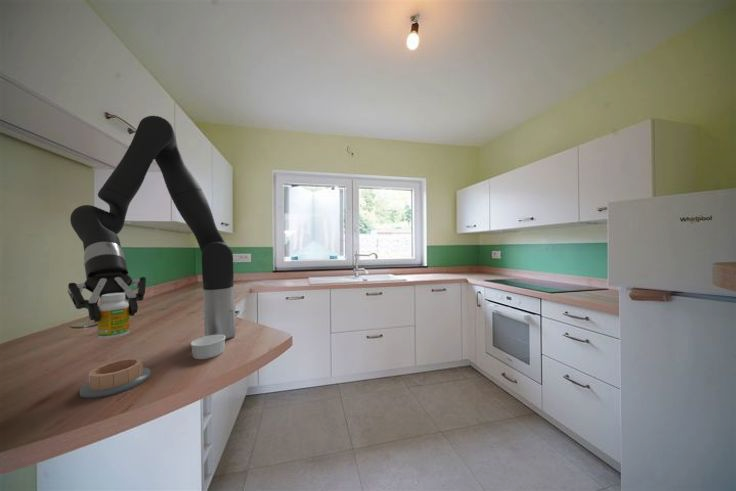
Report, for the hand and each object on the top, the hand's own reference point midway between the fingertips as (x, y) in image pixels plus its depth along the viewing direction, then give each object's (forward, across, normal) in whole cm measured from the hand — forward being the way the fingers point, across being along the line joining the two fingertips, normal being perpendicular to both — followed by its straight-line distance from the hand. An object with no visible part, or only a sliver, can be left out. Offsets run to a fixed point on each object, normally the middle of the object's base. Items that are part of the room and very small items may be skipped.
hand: (115, 316), depth 60 cm
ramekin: (+10, +20, +13) cm, 26 cm away
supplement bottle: (+2, 0, +5) cm, 5 cm away
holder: (+10, 0, +12) cm, 16 cm away
